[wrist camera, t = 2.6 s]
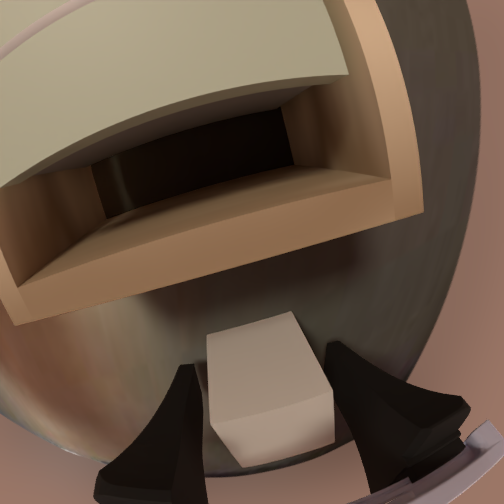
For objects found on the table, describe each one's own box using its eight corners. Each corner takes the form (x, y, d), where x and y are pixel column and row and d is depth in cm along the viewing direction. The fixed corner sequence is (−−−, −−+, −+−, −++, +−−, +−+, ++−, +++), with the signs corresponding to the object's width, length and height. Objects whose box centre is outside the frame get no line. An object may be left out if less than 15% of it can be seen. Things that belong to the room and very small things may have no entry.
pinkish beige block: (300, 363, 14) (334, 442, 9) (230, 383, 14) (242, 467, 9) (288, 305, 13) (333, 390, 8) (206, 328, 12) (210, 424, 7)
